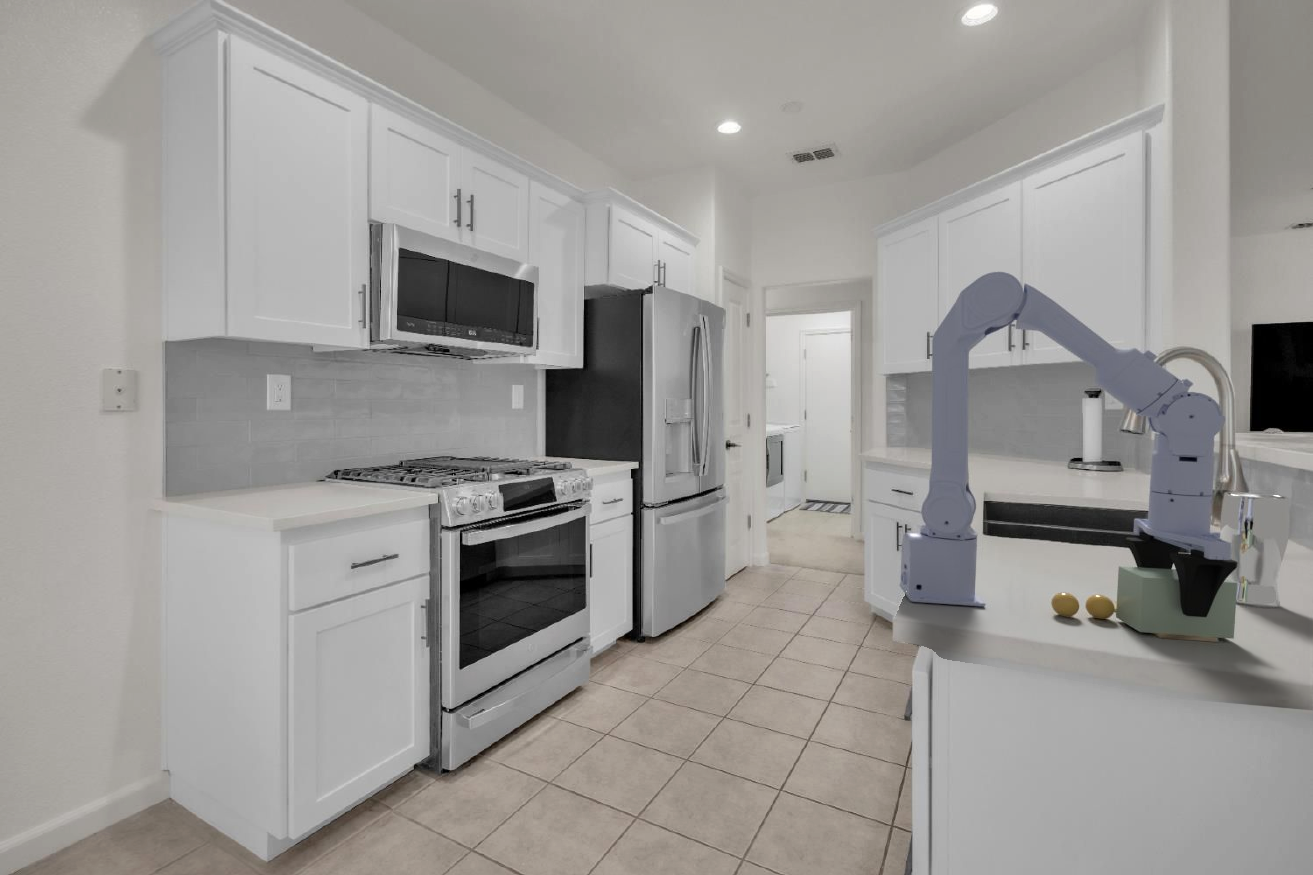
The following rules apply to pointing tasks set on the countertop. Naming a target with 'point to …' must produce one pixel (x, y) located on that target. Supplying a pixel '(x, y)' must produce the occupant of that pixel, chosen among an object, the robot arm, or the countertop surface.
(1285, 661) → the countertop surface
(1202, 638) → the pad two
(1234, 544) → the beer glass
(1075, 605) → the marble
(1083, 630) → the countertop surface
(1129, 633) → the countertop surface
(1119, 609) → the pale green block
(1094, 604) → the marble
